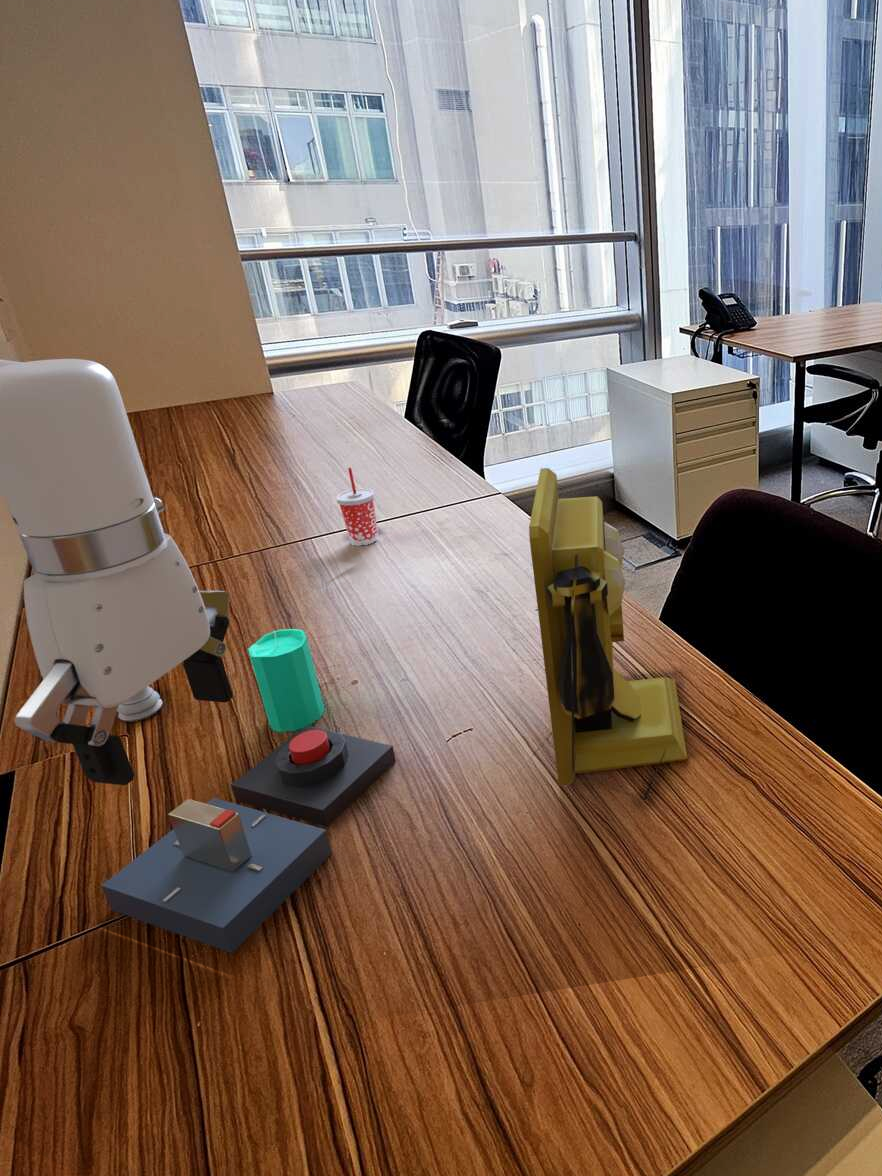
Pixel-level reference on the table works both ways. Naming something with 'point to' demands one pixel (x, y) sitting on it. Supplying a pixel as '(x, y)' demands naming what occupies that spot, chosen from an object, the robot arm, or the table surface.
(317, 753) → the button
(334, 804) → the button block
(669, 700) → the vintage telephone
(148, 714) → the rook chess piece
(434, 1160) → the table surface
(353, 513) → the beverage cup
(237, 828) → the handle
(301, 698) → the candle
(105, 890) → the control panel
